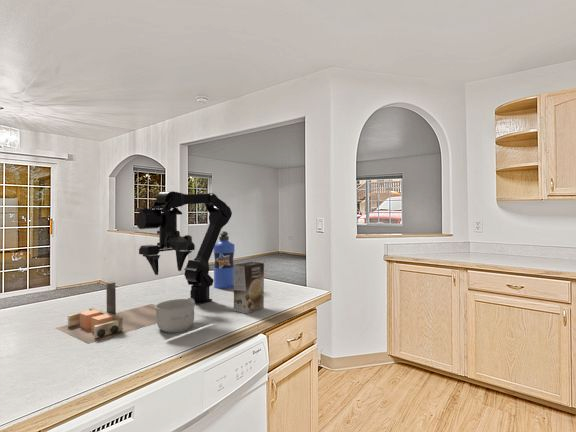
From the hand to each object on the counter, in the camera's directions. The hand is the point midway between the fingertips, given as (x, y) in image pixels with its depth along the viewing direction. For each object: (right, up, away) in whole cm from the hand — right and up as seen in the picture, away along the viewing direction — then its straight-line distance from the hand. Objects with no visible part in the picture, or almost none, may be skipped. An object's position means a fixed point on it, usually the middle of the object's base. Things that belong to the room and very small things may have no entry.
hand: (168, 272), depth 118 cm
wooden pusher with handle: (-14, -12, -19) cm, 26 cm away
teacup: (+10, -14, -18) cm, 24 cm away
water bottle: (+12, -13, +37) cm, 41 cm away
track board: (-9, -13, -12) cm, 20 cm away
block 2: (-11, -13, -22) cm, 28 cm away
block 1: (-17, -13, -18) cm, 28 cm away
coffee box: (+28, -13, +1) cm, 31 cm away
